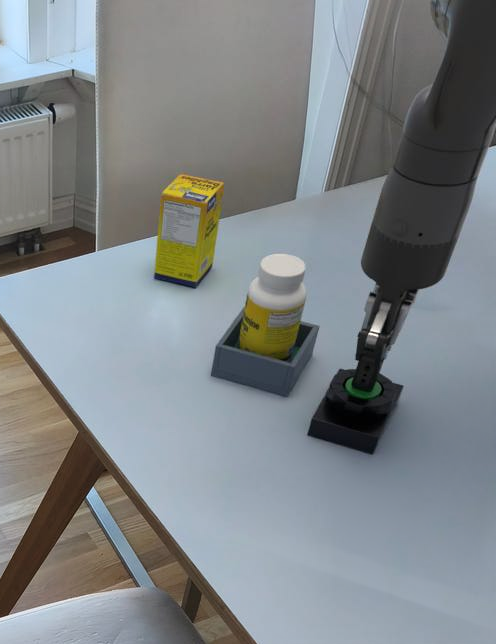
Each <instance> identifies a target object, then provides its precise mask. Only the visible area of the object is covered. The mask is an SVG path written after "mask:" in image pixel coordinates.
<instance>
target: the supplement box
mask: <svg viewBox="0 0 496 644" xmlns="http://www.w3.org/2000/svg"><path fill="white" fill-rule="evenodd" d="M224 187H225V182H222V181H217V180H212V179H206V178H202V177H198V176H192V175H187V174H183V173H180V174H179V175H178V176H176V178H174V180H173V181H172V182H171V183H170V184H168V186H167V187H166V188H165V189H164V190H163V191H162V193H161V196H160V205H159V206H160V207H159V219H158V227H157V238H156V249H155V260H154V261H155V262H154V274H153V279H159V280H163V281H166V282H171V283H175V284H179V285H184V286H187V287H192V288H197V287H198V286H199V284H200V283H201V281H202V280H203V279H204V278H205V276H207V274H208V273H209V272H210V270H211V269H212V268H213V264H214V256H215V250H216V244H217V237H218V231H219V224H220V218H221V217H220V216H221V210H222V203H223V197H224Z"/></svg>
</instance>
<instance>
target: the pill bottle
mask: <svg viewBox="0 0 496 644" xmlns="http://www.w3.org/2000/svg"><path fill="white" fill-rule="evenodd" d="M258 269H259V270H258V276H257V277H256V278H254V279H253V280H252V281H251V283H250V284H249V287H248V290H247V294H246V299H245V305H244V307H245V309H244V315H243V320H242V325H241V330H240V336H239V340H238V347H237V349H241V350H245V351H248V352H252V353H256V354H259V355H263V356H267V357H270V358H274V359H278V360H282V361H285V362H289V361H290V359H291V356H292V353H293V349H294V345H295V341H296V337H297V333H298V329H299V325H300V321H302V317H303V312H304V308H305V305H306V300H307V296H308V295H307V288H306V286H305V284H304V283H303V281H304V279H305V278H304V277H305V273H306V269H307V267H306V264H305V262H304V261H303V260H302V258H299V257H298V256H295V255H292V254H289V253H273V254H270V255H267V256H265V257H264V258H263V259H262V260H261V262H260V264H259V268H258Z"/></svg>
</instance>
